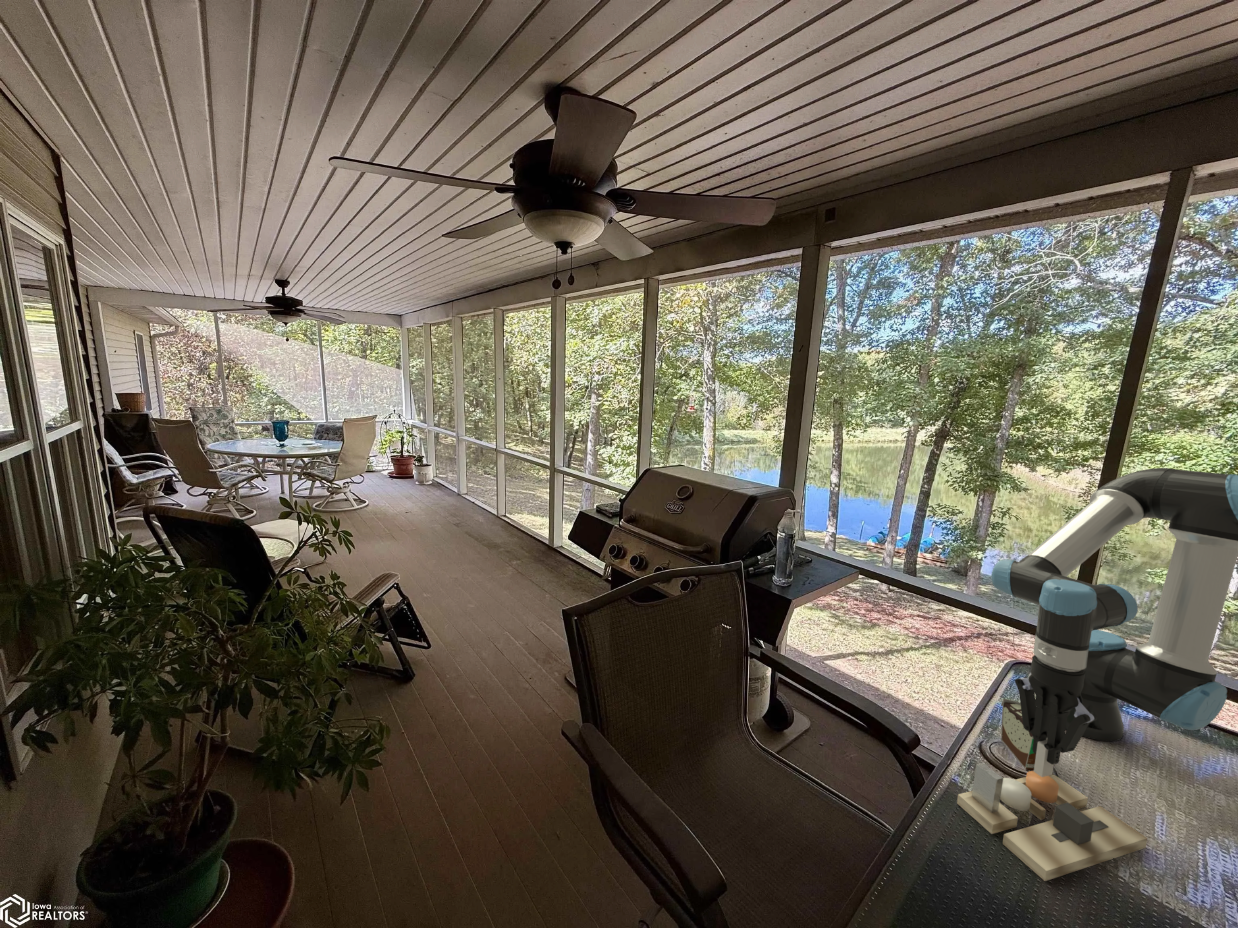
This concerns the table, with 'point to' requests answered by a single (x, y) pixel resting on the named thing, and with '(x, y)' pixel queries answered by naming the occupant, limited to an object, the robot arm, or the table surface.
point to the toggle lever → (987, 787)
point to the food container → (1017, 734)
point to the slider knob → (1073, 823)
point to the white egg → (1015, 794)
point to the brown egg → (1042, 787)
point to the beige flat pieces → (1058, 834)
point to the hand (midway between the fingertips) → (1042, 772)
